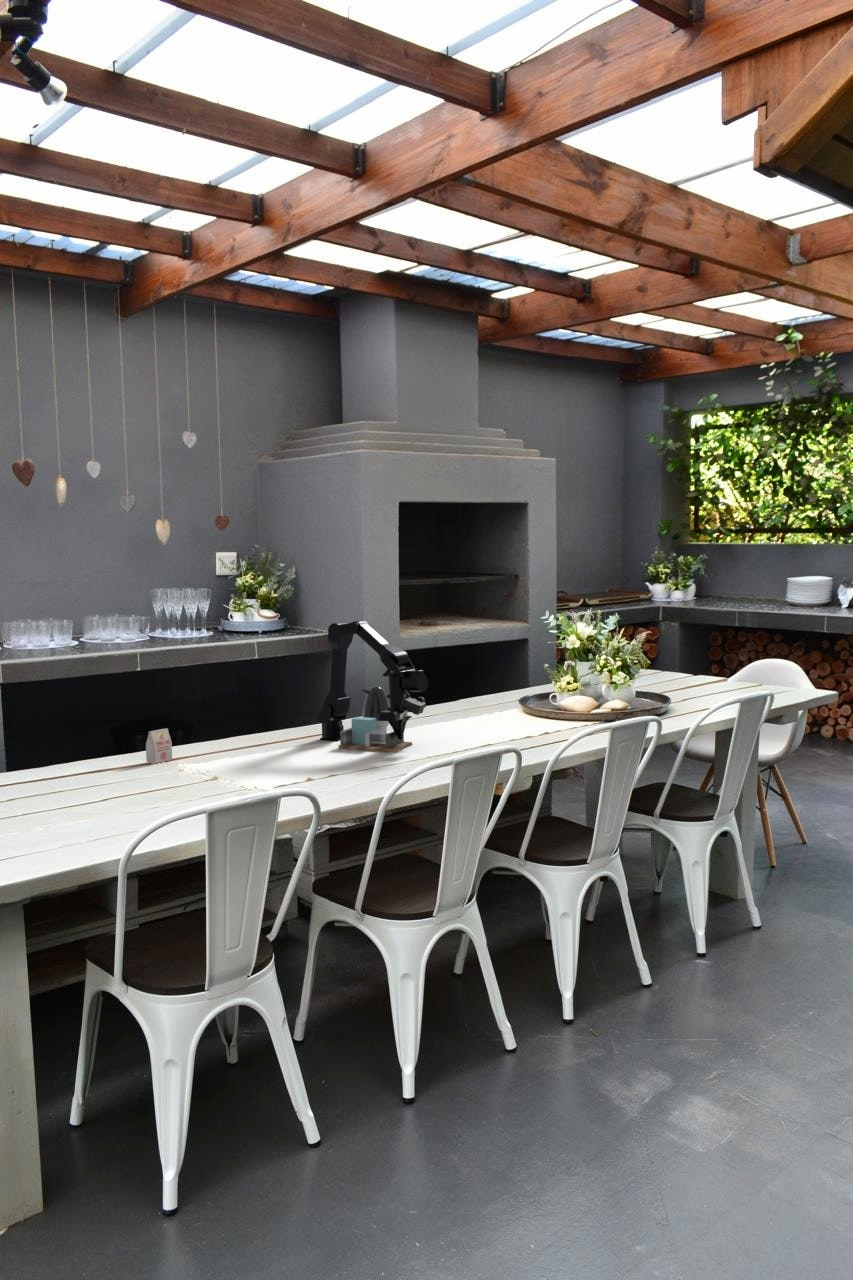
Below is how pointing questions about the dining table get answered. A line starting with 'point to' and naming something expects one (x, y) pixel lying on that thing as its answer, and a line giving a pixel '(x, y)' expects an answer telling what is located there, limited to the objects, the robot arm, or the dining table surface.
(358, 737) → the workpiece block
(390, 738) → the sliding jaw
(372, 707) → the pump dispenser
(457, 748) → the dining table surface
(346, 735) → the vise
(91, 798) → the dining table surface
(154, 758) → the white cardboard carton
